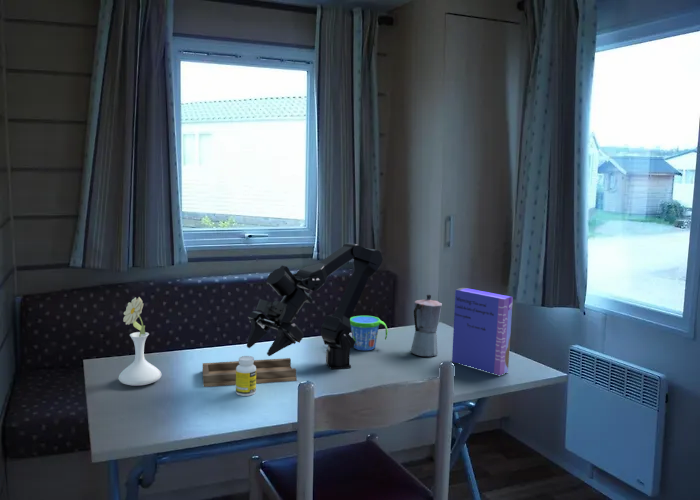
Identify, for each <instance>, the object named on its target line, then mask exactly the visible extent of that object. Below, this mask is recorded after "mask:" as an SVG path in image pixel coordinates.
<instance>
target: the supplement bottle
mask: <svg viewBox="0 0 700 500" xmlns="http://www.w3.org/2000/svg"><path fill="white" fill-rule="evenodd" d="M254 360H255V358H254V357H253V356H251V355H242V356H239V358H238V361H239V364H240V365H238V366H237V367H236V385H235V393H236V394H237V395H238V396H241V397H248V396H253V395H254V394H255V393H257V383H256V366H255V365H253V363H254Z"/></svg>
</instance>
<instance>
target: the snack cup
mask: <svg viewBox="0 0 700 500" xmlns="http://www.w3.org/2000/svg"><path fill="white" fill-rule="evenodd" d="M350 325H351V330H350V332H351V337H352V338H353V339H354V340H355V344H354V349H356V350H358V351H371V350H374V349H375V348H376V345H377V339H378V334H379V326H380V325H382V326H384V328H385V338H384V340H387V338H388V332H389V331H388V330H389V329H388V327H387V324H386V323H385V322H384V321H382V320H381V319H380V318H379V317H378V316H373V315H356V316H355V315H354V316H351V318H350Z"/></svg>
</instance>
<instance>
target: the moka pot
mask: <svg viewBox="0 0 700 500" xmlns="http://www.w3.org/2000/svg"><path fill="white" fill-rule="evenodd" d="M413 304H414V305H413V306H414V309H413V317H414V318H413V319H414V328H415V329H414V330H415V331H414V335H413V339H412V344H411V349H410V353H412V354H414V355H415V356H419V357H436V356H438V354H439V351H438V334H437V331H438V327H439V323H440V316H441V312H442V311H441V310H442V306H443V303H441V302H439V300H433V299H432V294H426V299H418V300H414V303H413Z"/></svg>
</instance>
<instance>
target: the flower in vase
mask: <svg viewBox="0 0 700 500" xmlns="http://www.w3.org/2000/svg"><path fill="white" fill-rule="evenodd" d="M143 307H144V303H143V300H142V298H141V297H140V296H138V298H137V297H134V298H133V299H131V302H128V303H127V306H126V307H125V308H126V309H125V311H124V312H123V315H124V316H123V320H122V321H123V322H124V323H125V325H126V326H127V325H128V326H129V325H130V324H132V326H133V327H134V328H135V329H136V330H139V331H136V332H132V333H130V334H129V337H130V338H131V340H132V342H133V344H134V350H135V354H134V355H135V358H134V360H133V362H132V363H130V364H129V365H128V366H126V368H124V369H123V370H122V371H121V373H119V376H118V380H119V382H120V383H121V384H123V385H128V386H133V387H134V386H135V387H136V386H137V387H138V386H145V385H150V384H153V383H155V382H158V381H159V380H160V378H162V372H161V370H160V369H158V368H157V367H156V365H153V364H151V363H150V362H149V361H147V360H146V357H145V353H144V352H145V343H146V340H147V338H148V336H149V335H150V333H149V332H146V330H145V328H146V325H144V322H143V320H142V317H141V314H142V310H143ZM138 318H139V320H140V323H141V324H140V323H138V321H137V320H138Z"/></svg>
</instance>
